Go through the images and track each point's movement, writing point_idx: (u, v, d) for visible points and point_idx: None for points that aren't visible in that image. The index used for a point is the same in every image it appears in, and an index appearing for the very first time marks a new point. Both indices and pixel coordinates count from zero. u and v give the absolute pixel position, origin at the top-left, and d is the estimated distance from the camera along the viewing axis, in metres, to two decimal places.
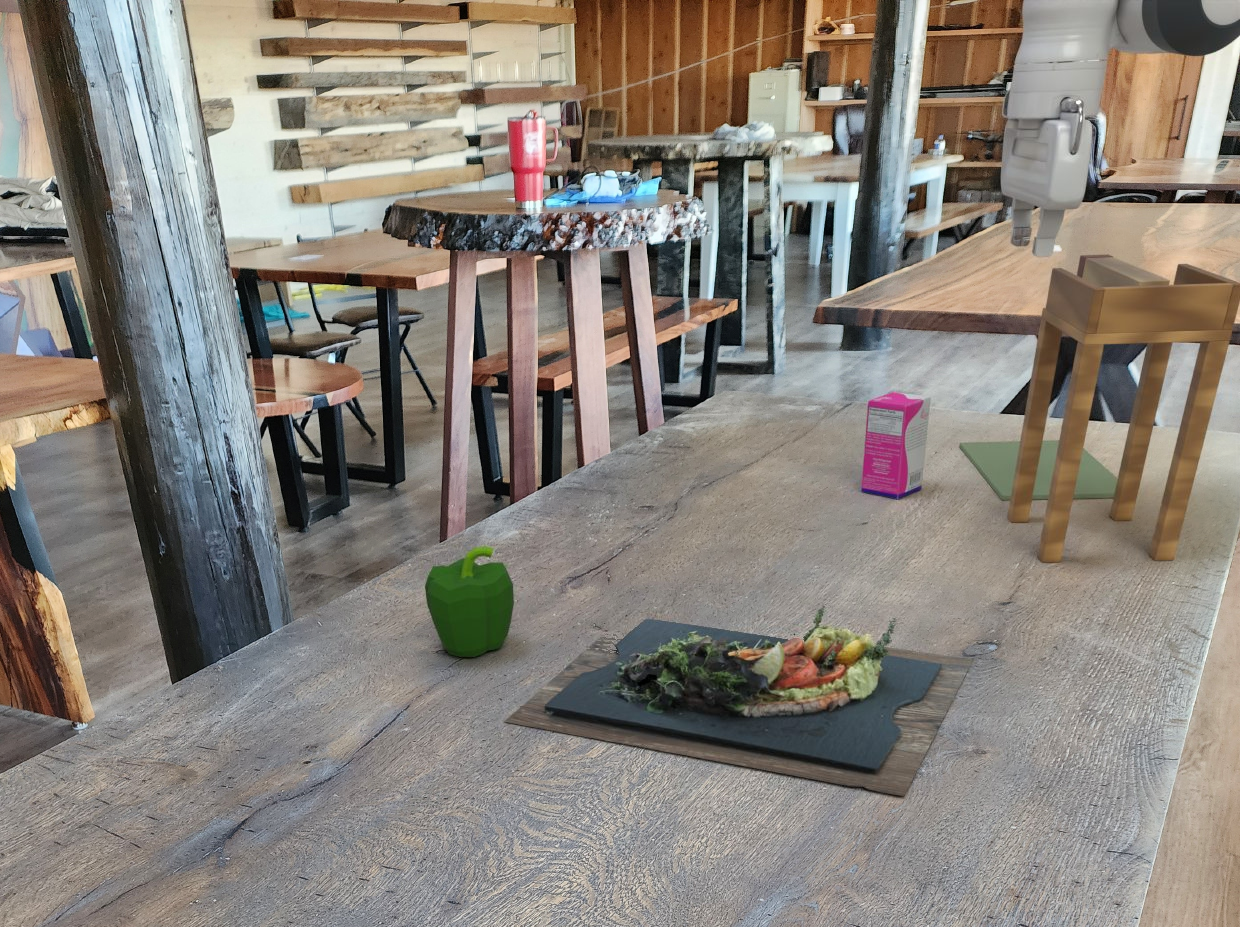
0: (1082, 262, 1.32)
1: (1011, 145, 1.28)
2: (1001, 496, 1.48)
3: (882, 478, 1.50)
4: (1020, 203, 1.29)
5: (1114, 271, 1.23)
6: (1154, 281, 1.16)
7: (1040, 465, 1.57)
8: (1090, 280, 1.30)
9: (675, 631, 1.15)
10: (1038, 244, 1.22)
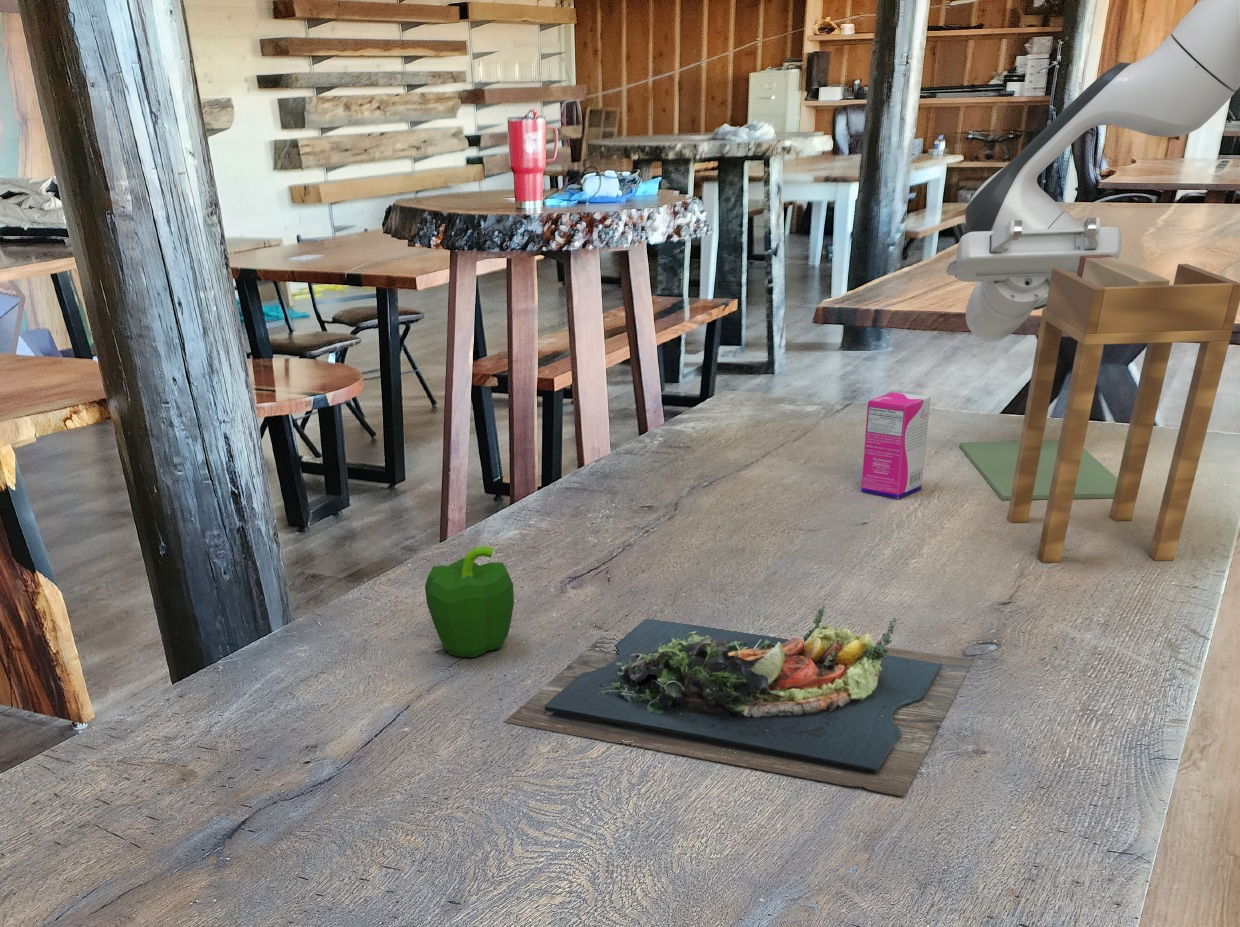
0: (1082, 262, 1.32)
1: None
2: (1001, 496, 1.48)
3: (882, 478, 1.50)
4: (1085, 242, 1.50)
5: (1114, 271, 1.23)
6: (1154, 281, 1.16)
7: (1040, 465, 1.57)
8: (1090, 280, 1.30)
9: (675, 631, 1.15)
10: (1007, 236, 1.47)
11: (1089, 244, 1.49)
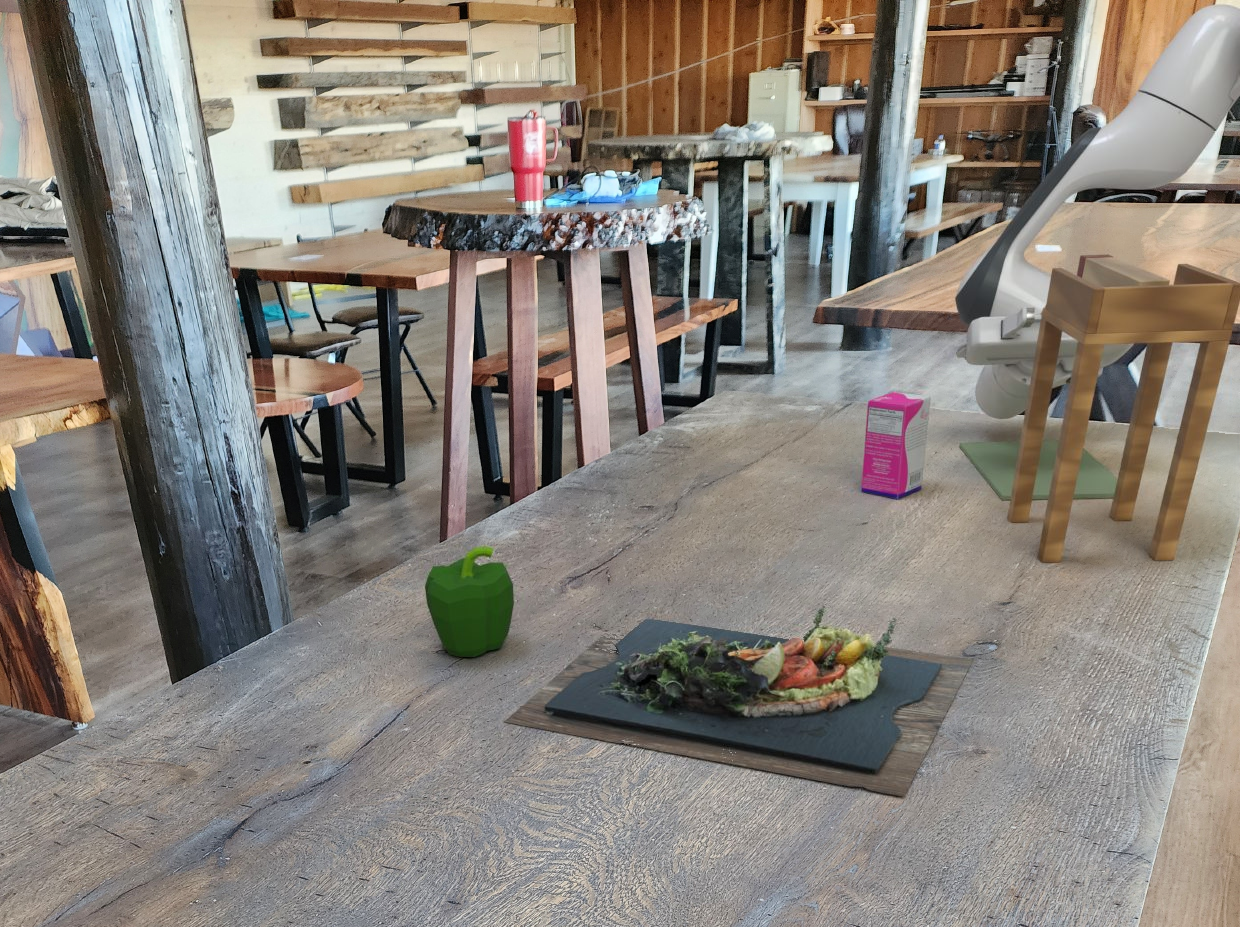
0: (1082, 262, 1.32)
1: (1103, 355, 1.50)
2: (1001, 496, 1.48)
3: (882, 478, 1.50)
4: None
5: (1114, 271, 1.23)
6: (1154, 281, 1.16)
7: (1040, 465, 1.57)
8: (1090, 280, 1.30)
9: (675, 631, 1.15)
10: (1019, 323, 1.43)
11: None
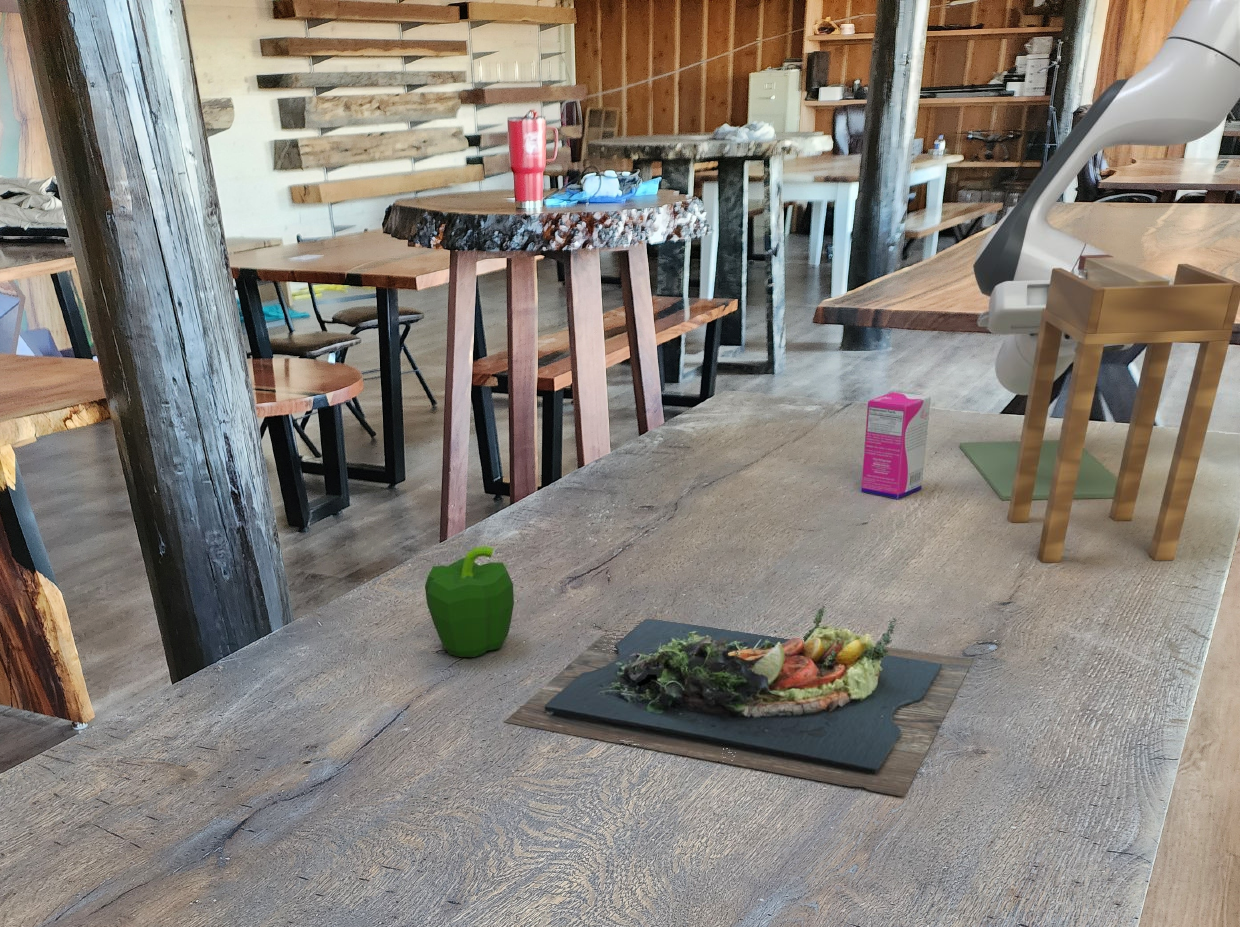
0: (1082, 262, 1.32)
1: None
2: (1001, 496, 1.48)
3: (882, 478, 1.50)
4: None
5: (1114, 271, 1.23)
6: (1154, 281, 1.16)
7: (1040, 465, 1.57)
8: (1090, 280, 1.30)
9: (675, 631, 1.15)
10: None
11: None
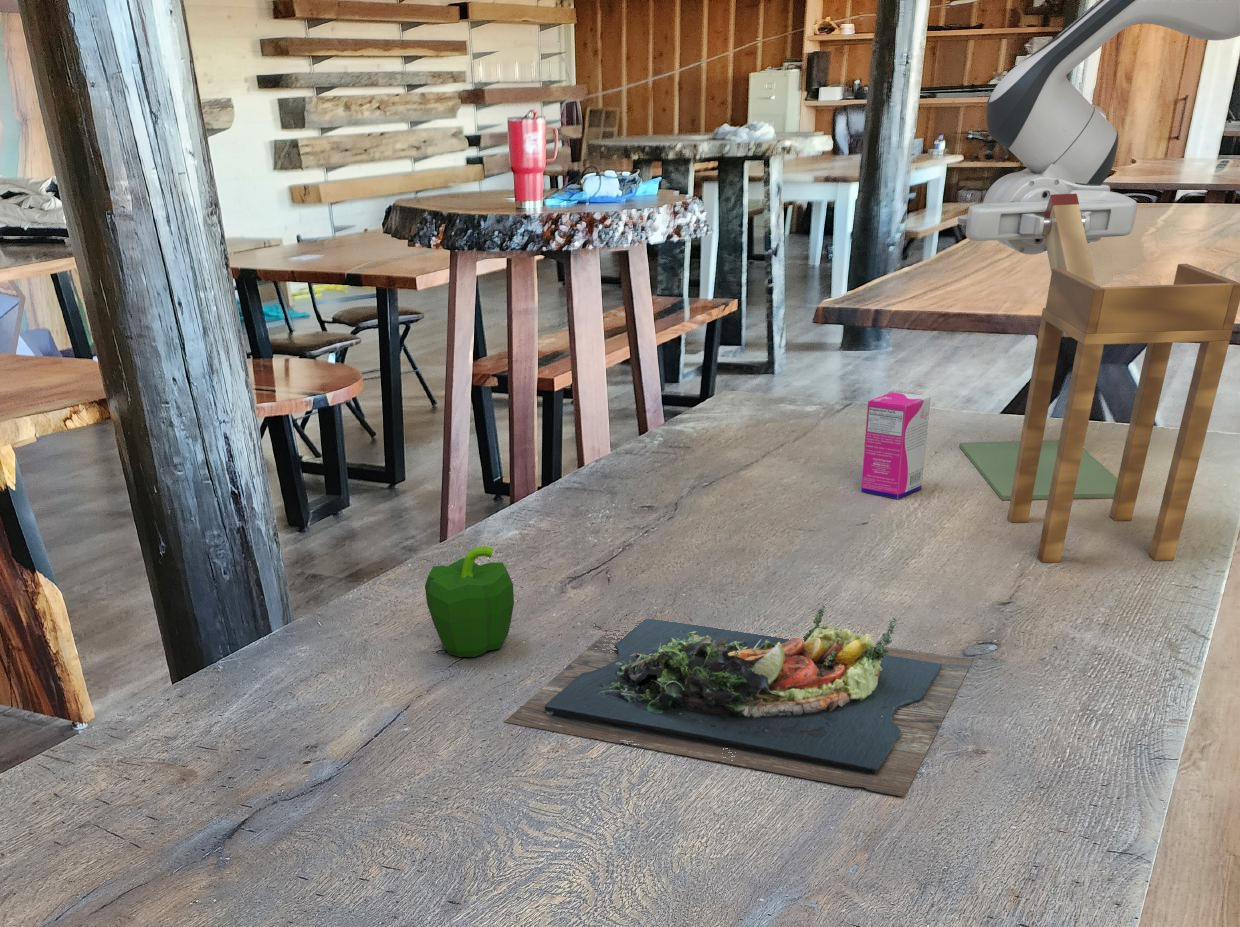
0: (1050, 206, 1.43)
1: None
2: (1001, 496, 1.48)
3: (882, 478, 1.50)
4: None
5: (1065, 262, 1.38)
6: None
7: (1040, 465, 1.57)
8: (1052, 236, 1.42)
9: (675, 631, 1.15)
10: (1036, 232, 1.44)
11: None
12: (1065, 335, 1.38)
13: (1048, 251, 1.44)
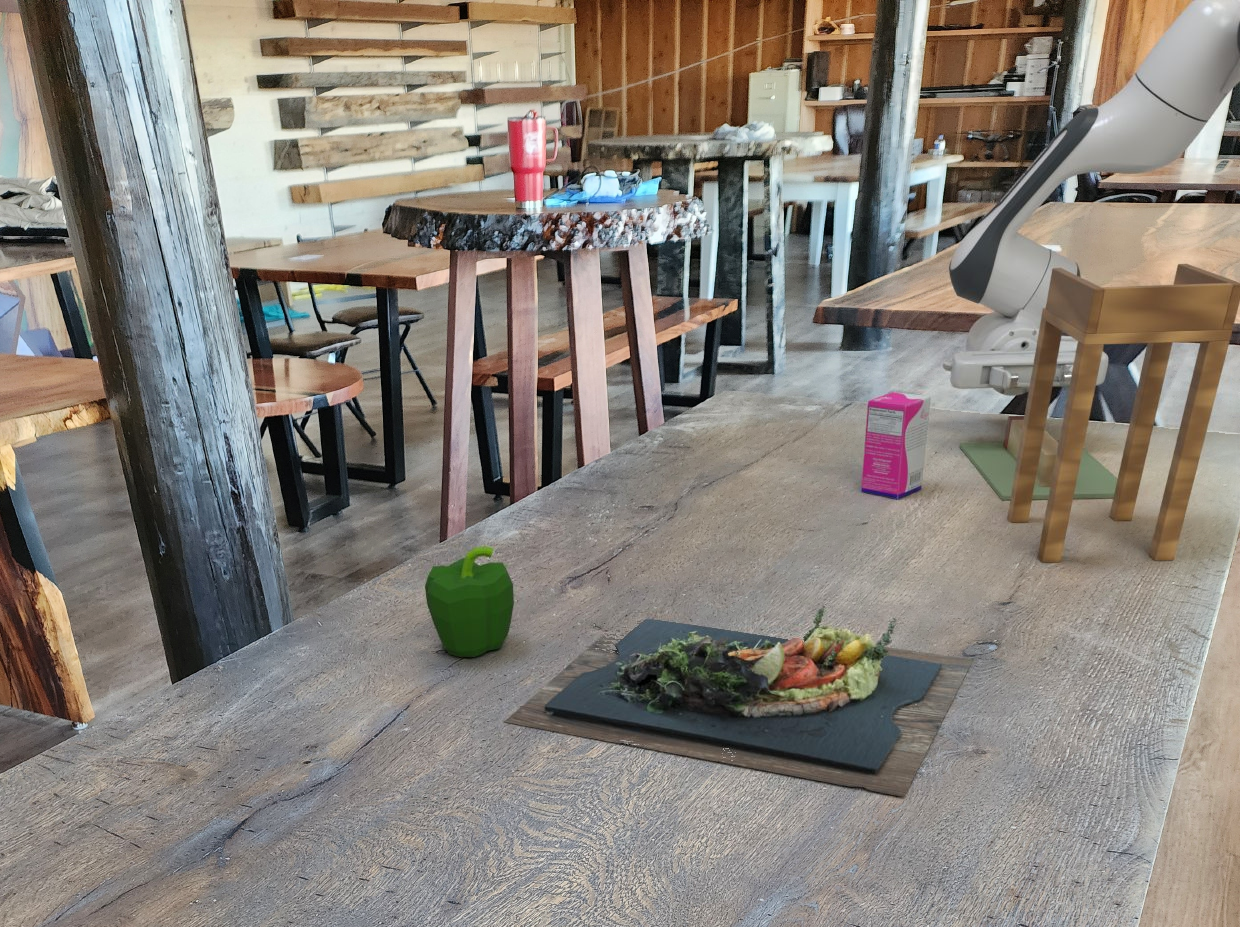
0: (1009, 422, 1.63)
1: None
2: (1001, 496, 1.48)
3: (882, 478, 1.50)
4: None
5: None
6: None
7: None
8: (1014, 439, 1.60)
9: (675, 631, 1.15)
10: (1003, 385, 1.56)
11: None
12: (1041, 485, 1.49)
13: (1013, 453, 1.61)
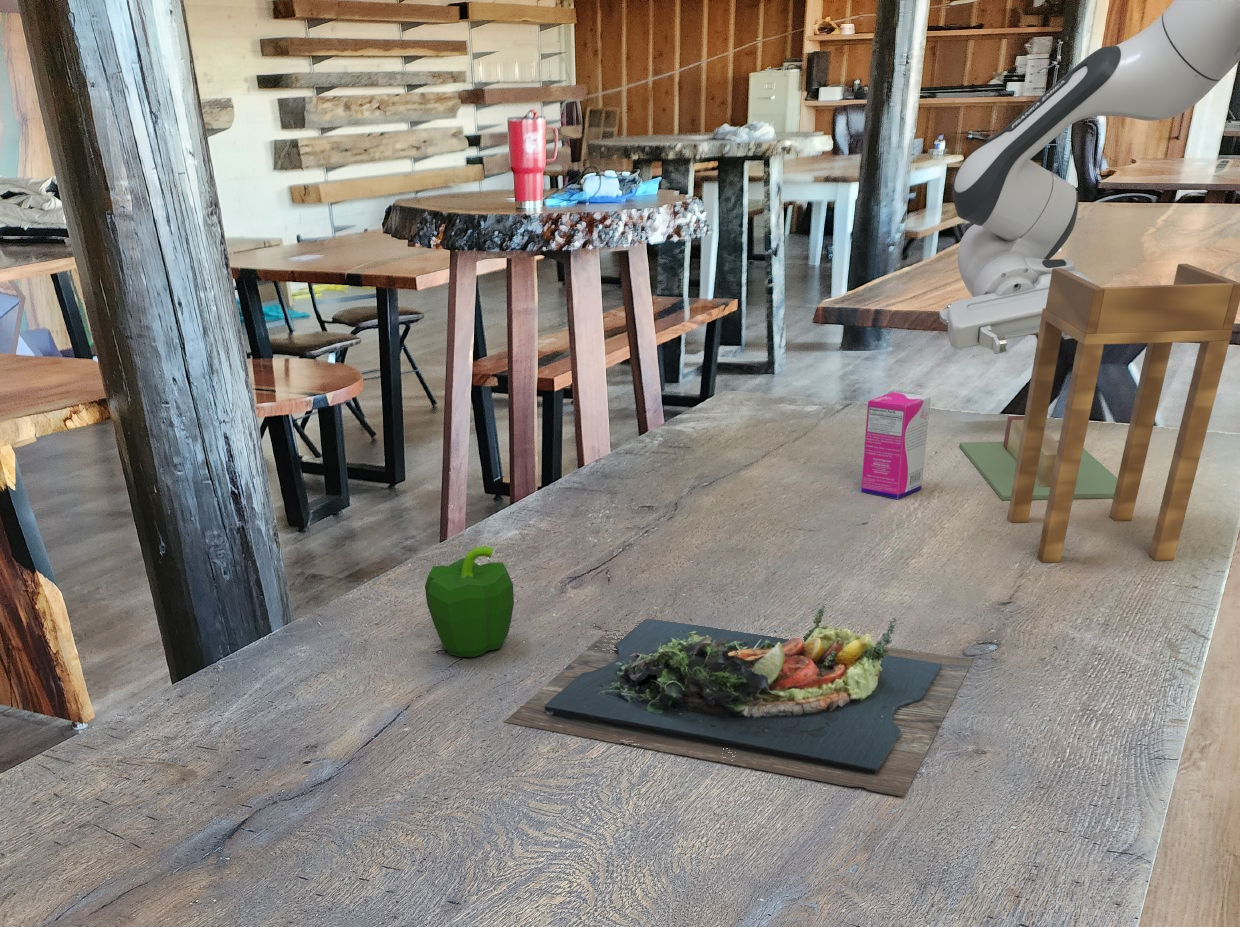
0: (1009, 422, 1.63)
1: None
2: (1001, 496, 1.48)
3: (882, 478, 1.50)
4: None
5: None
6: None
7: None
8: (1014, 439, 1.60)
9: (675, 631, 1.15)
10: (993, 349, 1.64)
11: None
12: (1041, 485, 1.49)
13: (1013, 453, 1.61)
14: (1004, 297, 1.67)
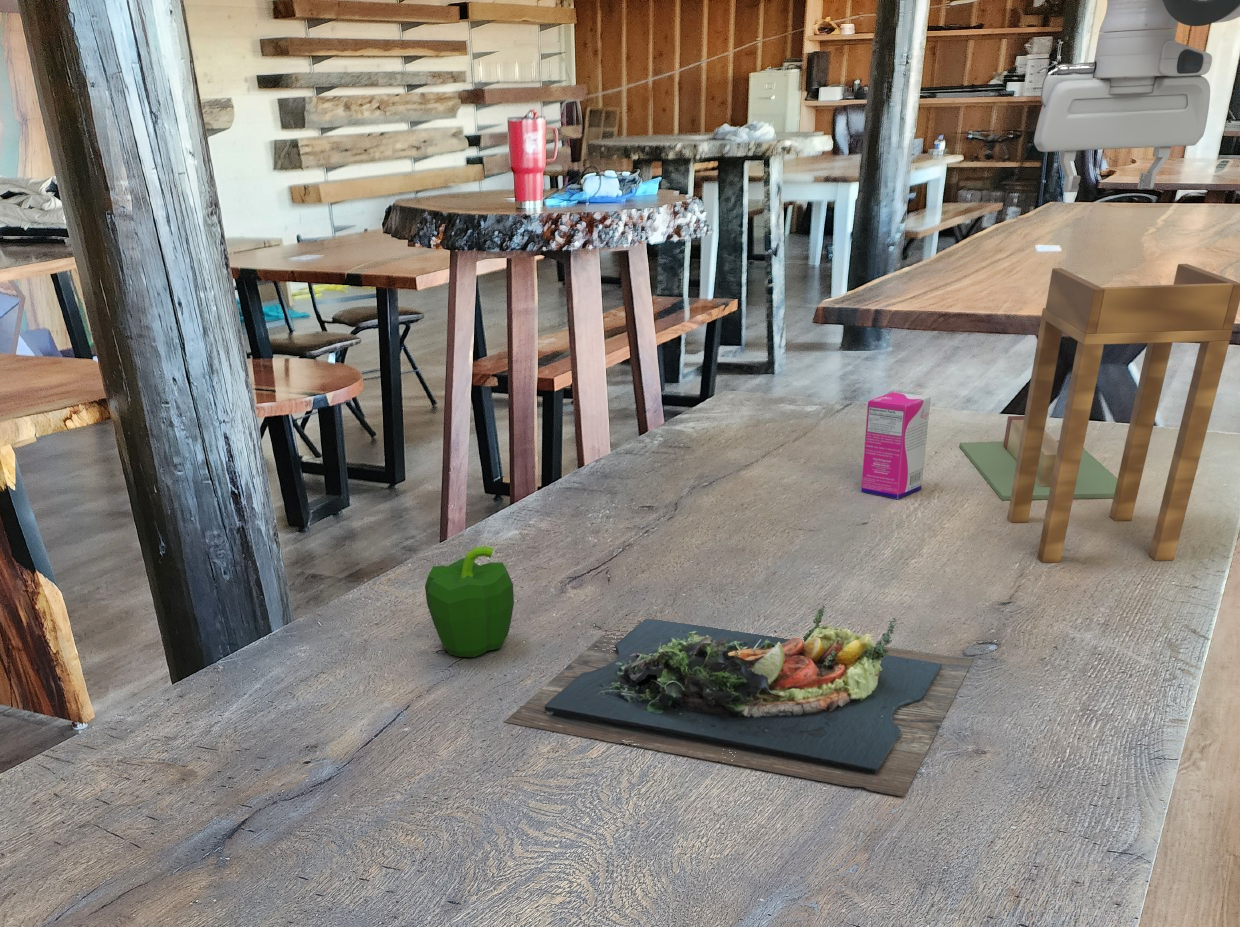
0: (1009, 422, 1.63)
1: None
2: (1001, 496, 1.48)
3: (882, 478, 1.50)
4: (1154, 151, 1.50)
5: None
6: None
7: None
8: (1014, 439, 1.60)
9: (675, 631, 1.15)
10: None
11: None
12: (1041, 485, 1.49)
13: (1013, 453, 1.61)
14: (1114, 97, 1.46)
